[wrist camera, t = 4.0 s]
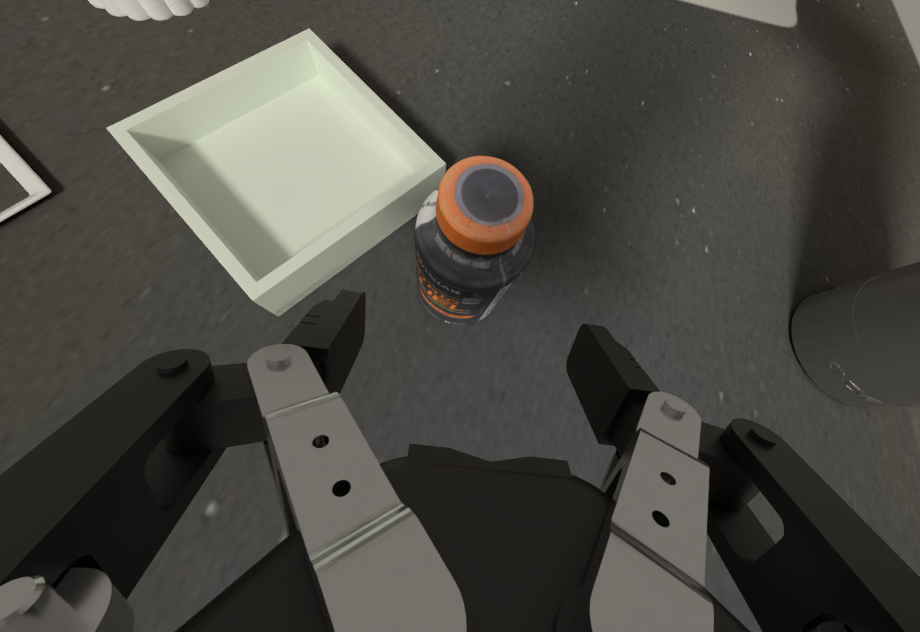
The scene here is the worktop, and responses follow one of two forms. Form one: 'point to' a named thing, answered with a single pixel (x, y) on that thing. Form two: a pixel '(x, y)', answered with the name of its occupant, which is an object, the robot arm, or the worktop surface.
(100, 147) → the worktop surface
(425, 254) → the pill bottle
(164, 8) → the mooncake
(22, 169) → the dessert
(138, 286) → the worktop surface
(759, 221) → the worktop surface
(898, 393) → the robot arm
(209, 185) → the tray
